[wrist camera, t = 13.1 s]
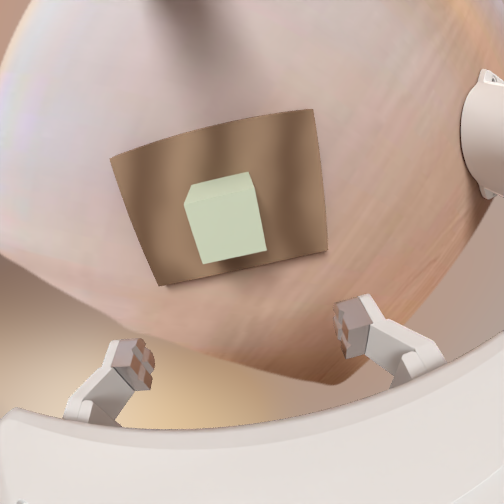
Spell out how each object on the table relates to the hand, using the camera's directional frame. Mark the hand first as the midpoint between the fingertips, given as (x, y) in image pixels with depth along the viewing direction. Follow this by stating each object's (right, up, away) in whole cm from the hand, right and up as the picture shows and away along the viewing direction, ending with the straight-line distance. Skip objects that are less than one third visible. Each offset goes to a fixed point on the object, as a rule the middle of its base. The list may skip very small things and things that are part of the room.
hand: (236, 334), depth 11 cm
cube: (-2, +7, +13) cm, 15 cm away
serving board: (-2, +8, +14) cm, 17 cm away
